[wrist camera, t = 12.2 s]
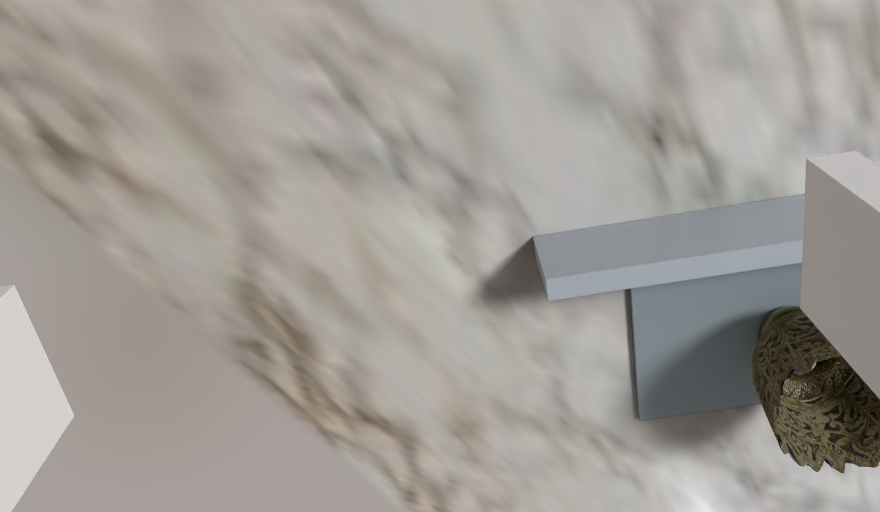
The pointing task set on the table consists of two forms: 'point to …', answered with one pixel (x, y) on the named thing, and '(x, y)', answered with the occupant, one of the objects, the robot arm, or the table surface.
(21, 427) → the robot arm
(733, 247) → the fence
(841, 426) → the cup
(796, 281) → the mat
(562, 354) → the table surface
